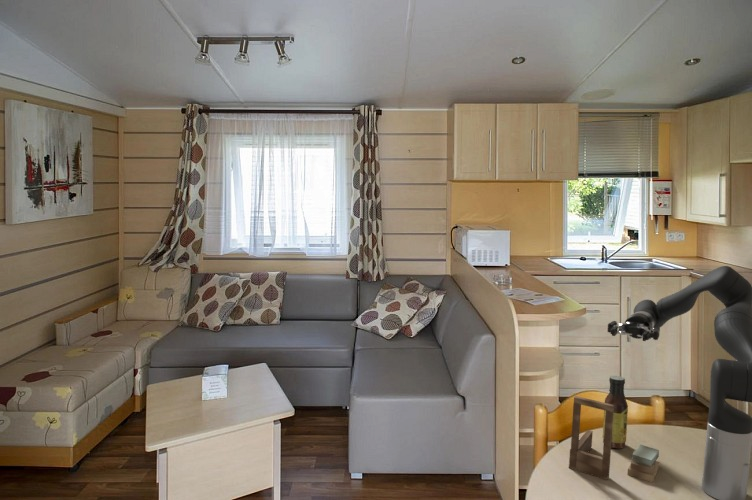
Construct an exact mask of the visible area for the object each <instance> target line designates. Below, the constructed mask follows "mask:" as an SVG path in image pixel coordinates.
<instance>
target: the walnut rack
mask: <svg viewBox="0 0 752 500" xmlns="http://www.w3.org/2000/svg"><path fill="white" fill-rule="evenodd" d="M572 406H573V407H572V425H571V437H570V438H571V441H570V449H569V461H568V468H569V469H571V470H573V471H574V470H575V471H578V472H582V473H585V474H588V475H590V476H591V475H592V476H595V477H597V478H601V479H603V480H606V481H608V480H609V478H610V470H611V469H610V467H611V452H612V448H611V441H612V427H613V412H614V405H612V404H608V403H605V402H603V401H598V400H594V399H591V398H590V399H589V398H586V397H582V396H578V395H574V397H573V405H572ZM582 406H585V407H589V408H594V409H596V410H597V409H598V410H601V411H604V410H605V411H606V416H605V431H604V443H603V447H602V456H600V455H596V454H593V453H589V452H590V451H591V449H592V448H591V447H593V430H590V429H587V430H586V431H585V432H584V433H583V434H582V436H581V437H580V427H581V426H580V425H581V413H582V410H581V409H582ZM589 450H590V451H589ZM588 451H589V452H588Z"/></svg>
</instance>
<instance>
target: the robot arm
mask: <svg viewBox="0 0 752 500" xmlns="http://www.w3.org/2000/svg"><path fill="white" fill-rule="evenodd" d="M704 292H709V293H710V294H711V295H712V296H714V297H715V298H716V299H717V300H718V301H720V302H721V303H722V305H724V306H725V308H723V309H721V310H720V311H719V312H718V313H716V316H715V317H714V321H713V328H714V330H713V331H714V337H715V340H716V341H717V343H718V344H719V346H720V347H721V348H722V349H723V350H724V351H725V352H726V353H727V354H729V356H731V357H732V358H733V359H734V360H733V359H726V358H725V359H724V358H716V359H715V360H714V361H712V362H713V363H712V365H711V369H710V387H709V388H710V389H709V390H710V391H709V392H710V394H709V406H708V416H707V425H706V434H705V435H706V437H705V446H704V447H705V448H704V458H703V459H704V460H703V468H702V469H703V470H702V471H703V472H702V477H701V478H702V479H701V489H702V491H703V492H704V493H706V494H707V495H709V496H710V497H711V498H714V499H716V500H747V495H748V485H749V484H748V483H749V475H750V464H751V453H752V416H751V415H750V414H748V413H746V412H744V411H743V410H740V409H738V408H736V407H735V406H733V405H731V404H730V403H728V402H727V400H734V401H739V402H746V403H752V284H751V283H750V282H749V281H748V279H746V278H745V277H744V276H742V274H740V273H739V272H738V271H736V269H734V268H732V267H731V266H728V265H722V266H720V267H717V268H714V269H713V270H710V271H709V272H707V273H706V274H704V275H703V276H700V277H699V278H698V279H696V280H694V281H693V282H691V283H690V284H689V285H687V286H686V287H684V288H682V289H681V290H678V291H677V292H675V293H674V292H673V293H672V294H670V295H668V296H665V297H663V298H660V299H659V300H658V301H656V303H655V302H654V300H652V299H643V300H641V301H639V302H637V304H636V305H635V306H634V307H633V313H632V314H631V315H630V316H629V317H627V319H625V321H624V322H620V323H618V321H615V320H613V321H611V322H609V323H608V324H607V333H609V334H610V335H611V336H612V337H615V336H617V335H618V334H619V335H622V336H623V335H624V336H625V335H629V336H630V338H633V339H636V340H638V339H642V341H643V342H646V341H649V340H651V339H652V340H654V341H658V339H659V338H660V335H661V334H660V333H661V332H660V331H661V328H662V327H663V326H664V325H665V324H666V323H667V322H668V321H669V320H672V319H674V318H677V317H679V316H681V315H684V314H686V313H688V312H690V311H691V310H692V309H693V307H695V304H696V302H697V300H698V298H699V295H700V294H701V293H704Z"/></svg>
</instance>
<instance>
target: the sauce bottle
mask: <svg viewBox="0 0 752 500" xmlns="http://www.w3.org/2000/svg"><path fill="white" fill-rule="evenodd" d="M608 381H609V393H608V394H607V395H606V397H605V399H604V403H608V404H612V405H614V412H613V427H612V441H611V449H623V448H624V447H625V446H626V442H627V430H628V429H627V428H628V413H629V412H628V411H629V410H628V409H629V408H628V407H629V405H628V401H627V398H626V395H625V391H624V390H625V384H626V379H625V377H623V376H620V375H619V376H618V375H611V376H609V380H608ZM605 416H606V411H605V410H603V424H602V425H603V426H602V443H603V444H604V431H605Z"/></svg>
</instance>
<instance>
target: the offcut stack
mask: <svg viewBox="0 0 752 500" xmlns="http://www.w3.org/2000/svg"><path fill="white" fill-rule="evenodd" d="M659 457H660V450H659V449H657V448H653V447H649V446H647V445H643V444H640V445H638V447H637V448H636V450H633V453H632V455H631V461H630V464H629V466H628V468H627V474H626V475H628V476H631V477H634V478H637V479H641V480H644V481H648V482H651V483H653V482H654V480H655V478H656V476H657V473H658V471H659V469H660V461H657V460H658V458H659Z"/></svg>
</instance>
